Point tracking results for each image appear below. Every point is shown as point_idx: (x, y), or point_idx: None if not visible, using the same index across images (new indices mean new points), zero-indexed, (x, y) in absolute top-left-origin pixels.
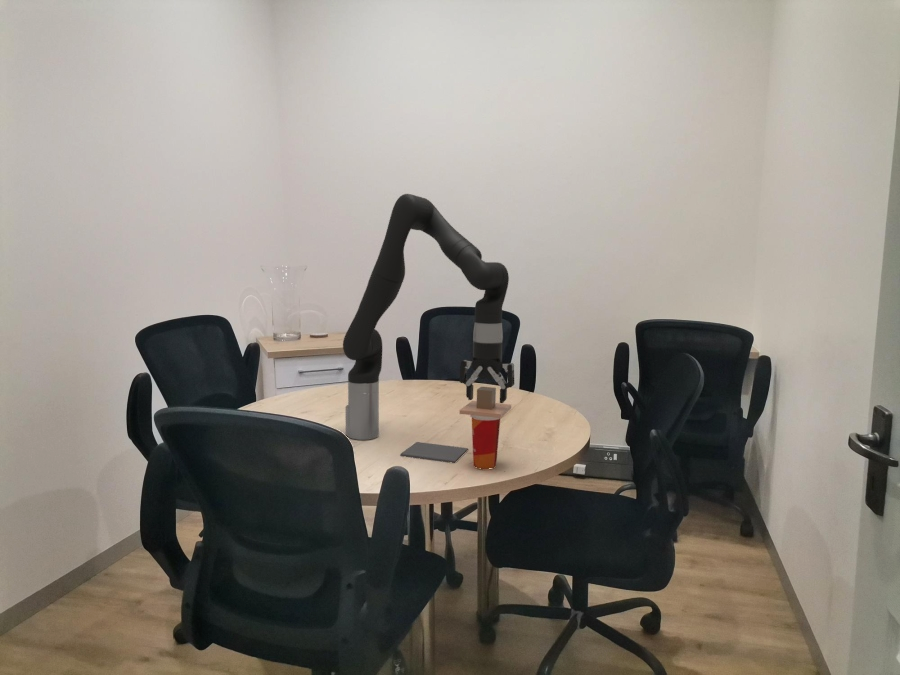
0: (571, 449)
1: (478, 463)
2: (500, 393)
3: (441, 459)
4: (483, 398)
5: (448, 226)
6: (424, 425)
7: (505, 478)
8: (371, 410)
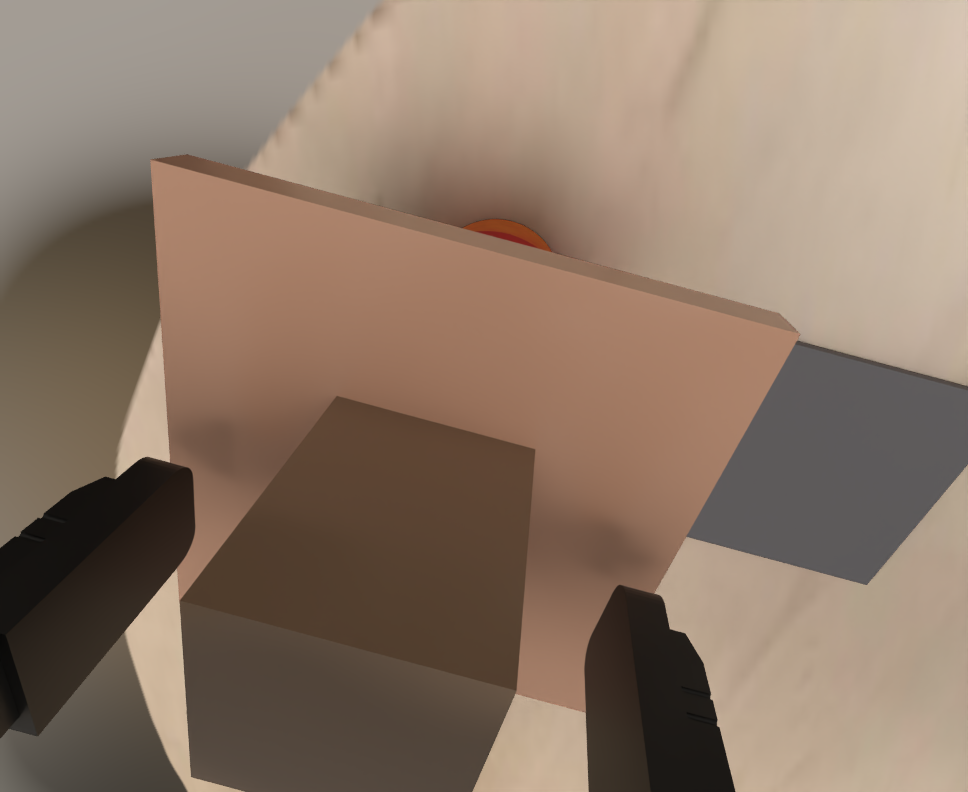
0: None
1: (530, 232)
2: (65, 564)
3: None
4: (410, 519)
5: None
6: (781, 774)
7: (360, 73)
8: None
